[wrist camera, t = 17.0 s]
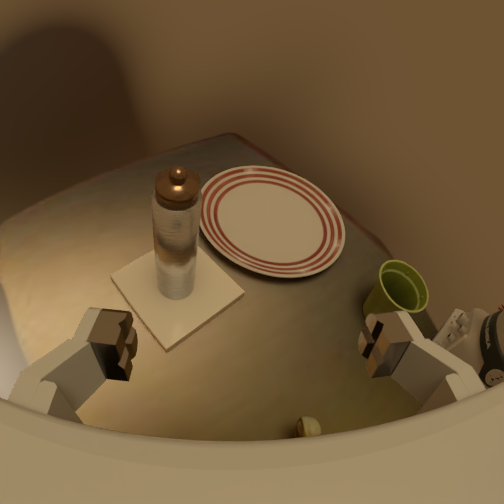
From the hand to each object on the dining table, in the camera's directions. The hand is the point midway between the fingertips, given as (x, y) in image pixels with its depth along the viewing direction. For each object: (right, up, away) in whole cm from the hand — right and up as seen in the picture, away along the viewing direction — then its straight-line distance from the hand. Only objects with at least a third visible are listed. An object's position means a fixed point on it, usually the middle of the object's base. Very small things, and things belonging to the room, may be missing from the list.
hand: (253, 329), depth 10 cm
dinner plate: (+3, +8, +45) cm, 46 cm away
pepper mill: (-11, -2, +31) cm, 33 cm away
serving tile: (-11, -3, +32) cm, 34 cm away
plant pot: (+21, -8, +36) cm, 43 cm away
